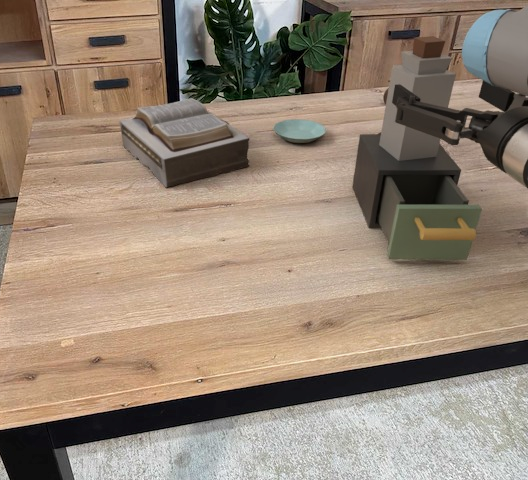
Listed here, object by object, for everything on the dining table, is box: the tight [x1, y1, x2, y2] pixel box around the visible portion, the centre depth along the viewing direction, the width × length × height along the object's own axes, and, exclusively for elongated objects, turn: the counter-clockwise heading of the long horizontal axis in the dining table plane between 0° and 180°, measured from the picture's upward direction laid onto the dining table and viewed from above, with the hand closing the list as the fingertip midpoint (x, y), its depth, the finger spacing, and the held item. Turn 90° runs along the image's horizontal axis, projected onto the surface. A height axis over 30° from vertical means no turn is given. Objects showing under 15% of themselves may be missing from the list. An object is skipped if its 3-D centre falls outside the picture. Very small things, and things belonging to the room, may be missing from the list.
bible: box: [118, 97, 251, 189], centre depth 113 cm, size 23×27×10 cm
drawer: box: [376, 175, 483, 261], centre depth 82 cm, size 18×12×9 cm, turn 178°
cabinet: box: [351, 133, 462, 229], centre depth 93 cm, size 15×13×11 cm
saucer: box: [272, 118, 327, 144], centre depth 122 cm, size 12×12×2 cm
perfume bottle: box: [379, 35, 457, 161], centre depth 85 cm, size 7×7×18 cm
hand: (439, 90), depth 79 cm, fingers open, 13 cm apart
